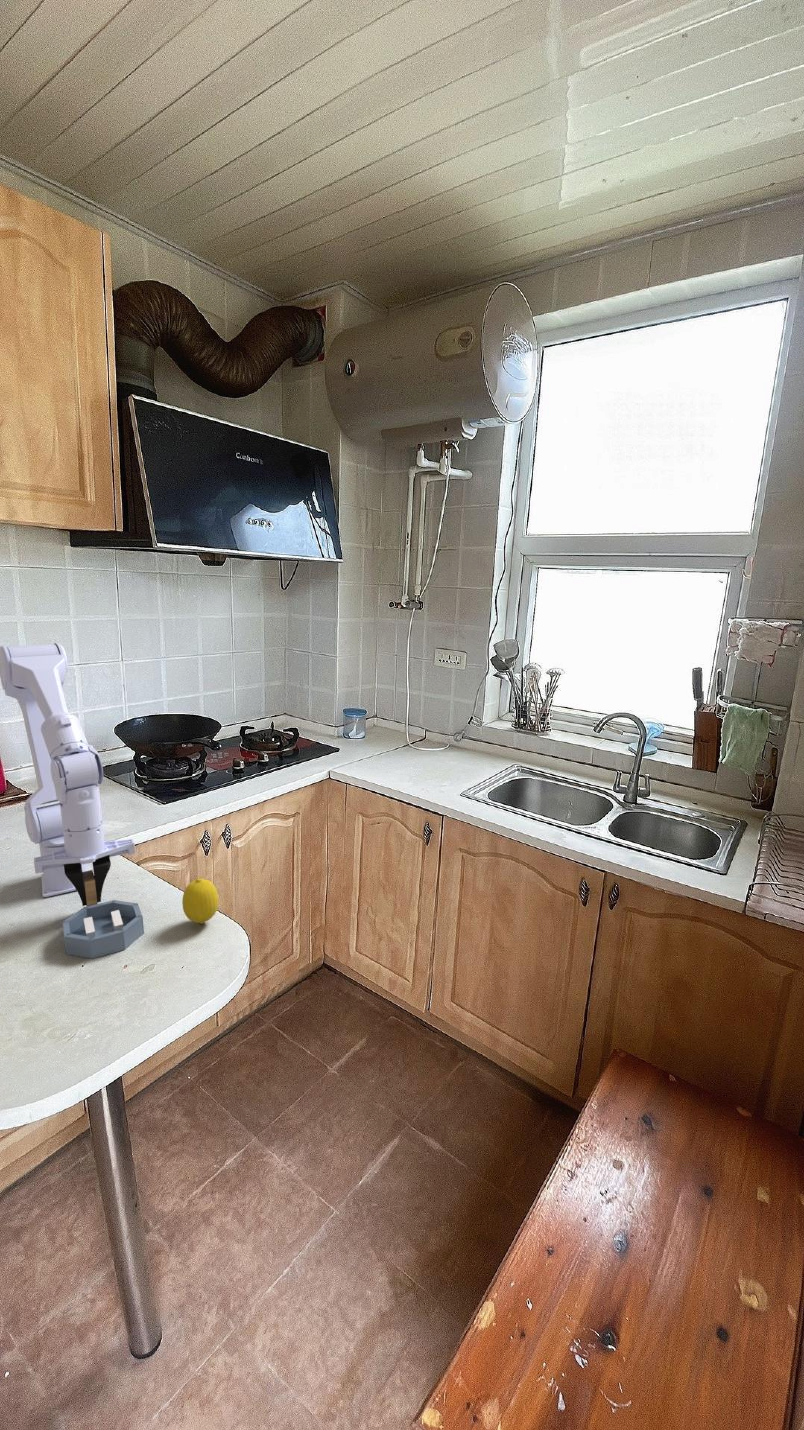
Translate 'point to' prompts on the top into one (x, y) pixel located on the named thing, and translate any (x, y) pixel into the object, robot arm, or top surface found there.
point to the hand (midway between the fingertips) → (91, 901)
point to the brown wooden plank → (90, 887)
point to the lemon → (200, 900)
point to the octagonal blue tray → (102, 929)
